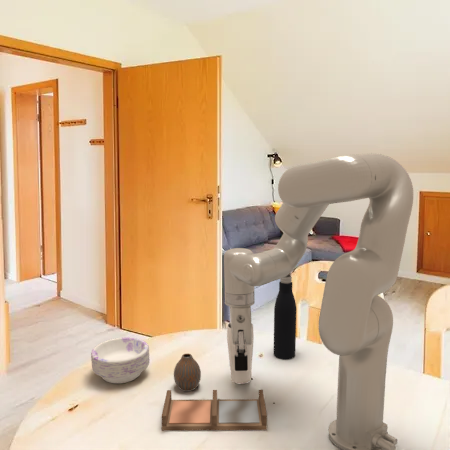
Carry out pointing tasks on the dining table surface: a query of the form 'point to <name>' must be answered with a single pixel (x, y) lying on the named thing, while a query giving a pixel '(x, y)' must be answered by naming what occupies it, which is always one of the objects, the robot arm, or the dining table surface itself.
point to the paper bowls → (120, 359)
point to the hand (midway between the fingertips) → (240, 363)
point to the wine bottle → (285, 320)
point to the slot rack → (214, 414)
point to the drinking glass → (236, 376)
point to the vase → (187, 373)
